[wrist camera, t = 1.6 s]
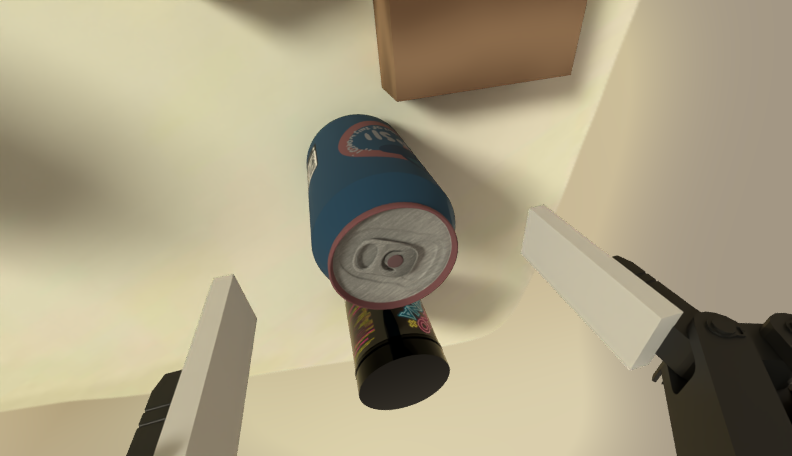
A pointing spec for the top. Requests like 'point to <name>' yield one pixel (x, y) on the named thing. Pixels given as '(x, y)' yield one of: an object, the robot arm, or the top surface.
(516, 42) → the walnut slab
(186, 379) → the robot arm
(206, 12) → the top surface
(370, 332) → the supplement container
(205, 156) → the top surface
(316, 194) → the soda can
